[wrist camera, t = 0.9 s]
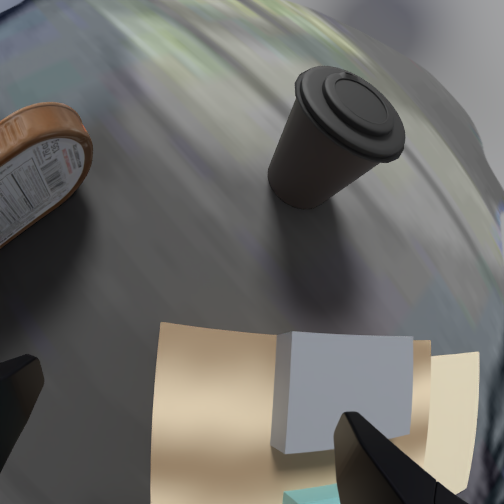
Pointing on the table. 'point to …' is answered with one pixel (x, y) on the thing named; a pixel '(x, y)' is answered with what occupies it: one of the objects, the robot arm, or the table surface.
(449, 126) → the table surface
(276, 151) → the coffee cup
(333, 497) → the teal block
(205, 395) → the wooden block
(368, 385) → the gray rectangular block
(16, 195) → the tin
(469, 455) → the mat
